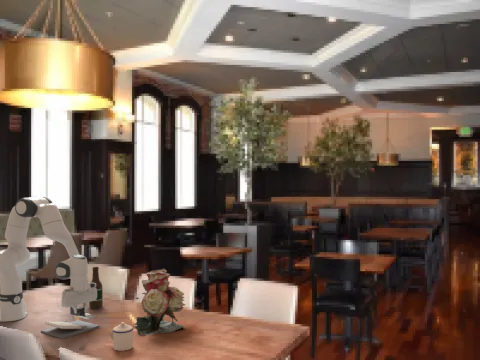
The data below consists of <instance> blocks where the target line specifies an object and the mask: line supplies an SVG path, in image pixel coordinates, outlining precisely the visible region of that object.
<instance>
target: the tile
mask: <svg viewBox="0 0 480 360" xmlns="http://www.w3.org/2000/svg"><path fill="white" fill-rule="evenodd" d="M44 325H47V326H50V327H57V328H61V329H82V326H80V325H76V324H72V323H69V322H62V321H45V323H44Z"/></svg>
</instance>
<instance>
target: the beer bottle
mask: <svg viewBox="0 0 480 360" xmlns="http://www.w3.org/2000/svg"><path fill="white" fill-rule="evenodd" d="M99 269H100V268H99V267H98V266H93V267H92V277H91V281H90V282H92V283H96V287H95V288H96V289H97V299H96V300H94V301H90V302H88V303H89V304H88V305H89V308H90V307H91V308H90V309H98V308H97V307H100V308H102V307H103V303H104V301H103V297H104V295H103V284H102V282H101V280H100V274H99ZM101 306H102V307H101Z"/></svg>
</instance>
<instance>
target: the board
mask: <svg viewBox="0 0 480 360" xmlns="http://www.w3.org/2000/svg"><path fill="white" fill-rule="evenodd" d="M61 322H67V320H66V319H65V320H62V321H61ZM68 323H72V324H76V325H80V326H82V329H61V328H57V327H53V326H50V327H48V328H44V329H42V330H40V333H42V334H45V335H49V336H53V337H54V338H55V337H56V338H59V339H62V340H63V339H66V338H69V337H73V336H76V335H80V334H83V333H86V332H89V331H92V330H95V329H99V328H100V324H96V323H91V322H87V321H84V320H79V319H76V320H73V321H69V322H68Z"/></svg>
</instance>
